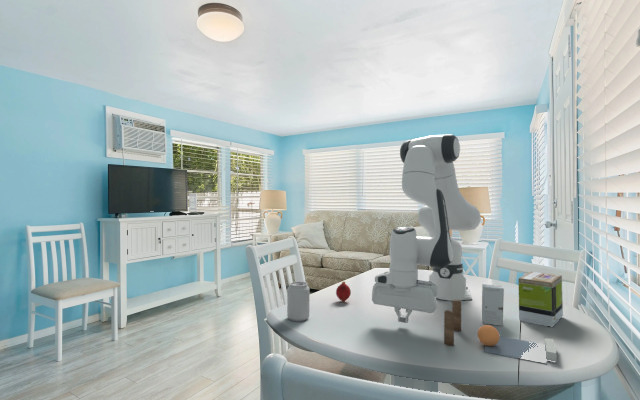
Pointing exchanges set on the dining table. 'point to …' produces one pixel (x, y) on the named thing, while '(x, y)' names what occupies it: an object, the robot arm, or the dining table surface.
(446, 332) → the post
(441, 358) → the dining table surface
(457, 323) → the post
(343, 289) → the onion
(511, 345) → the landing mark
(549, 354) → the stopper wall
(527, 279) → the tea box
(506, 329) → the dining table surface
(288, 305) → the can
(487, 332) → the ball
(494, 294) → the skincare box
